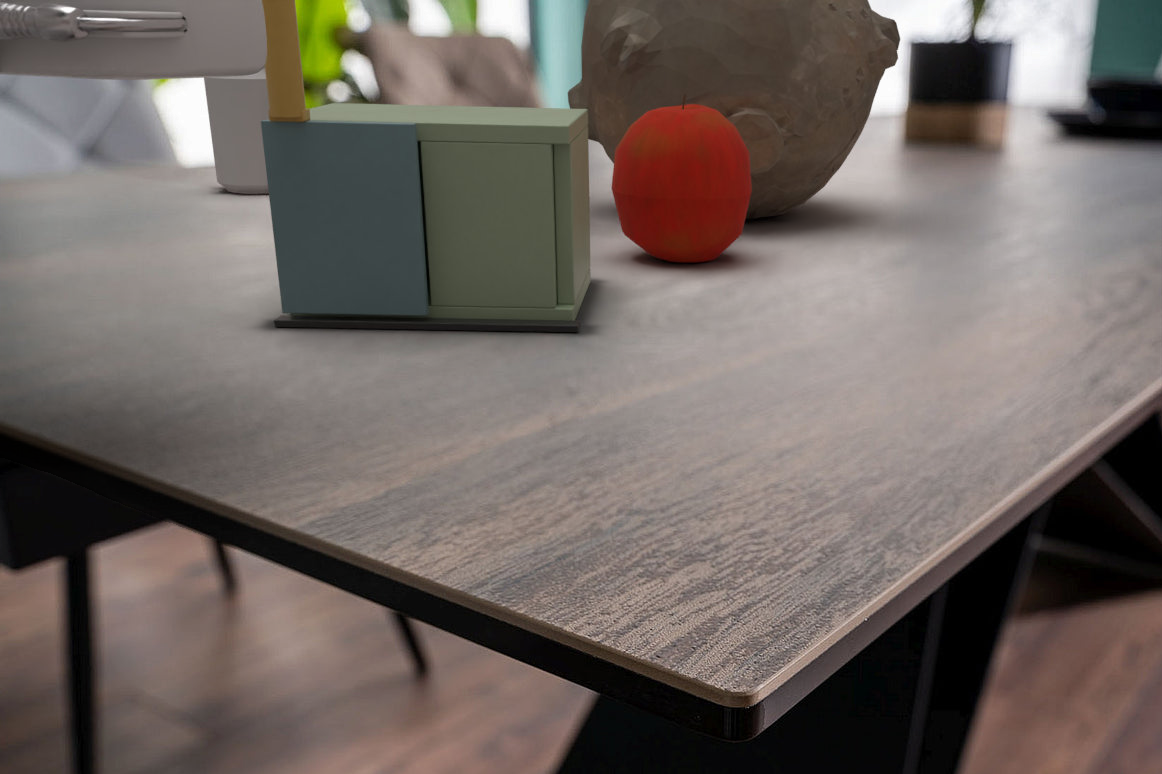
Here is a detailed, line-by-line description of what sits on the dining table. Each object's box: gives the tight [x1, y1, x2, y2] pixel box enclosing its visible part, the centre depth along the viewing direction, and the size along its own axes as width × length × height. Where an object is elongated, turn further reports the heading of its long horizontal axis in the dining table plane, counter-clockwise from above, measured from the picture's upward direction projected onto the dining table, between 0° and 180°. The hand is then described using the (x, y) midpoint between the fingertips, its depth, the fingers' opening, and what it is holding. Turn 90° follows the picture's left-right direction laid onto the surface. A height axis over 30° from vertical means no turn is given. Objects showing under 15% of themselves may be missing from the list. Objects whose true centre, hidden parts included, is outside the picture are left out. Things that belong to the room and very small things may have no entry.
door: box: [261, 0, 429, 316], centre depth 62 cm, size 8×2×20 cm, turn 91°
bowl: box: [567, 0, 901, 220], centre depth 104 cm, size 27×29×20 cm
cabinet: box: [273, 102, 592, 333], centre depth 70 cm, size 17×14×11 cm
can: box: [203, 66, 269, 195], centre depth 112 cm, size 8×8×12 cm
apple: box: [611, 94, 752, 263], centre depth 85 cm, size 10×10×12 cm
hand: (142, 17), depth 52 cm, fingers open, 8 cm apart
